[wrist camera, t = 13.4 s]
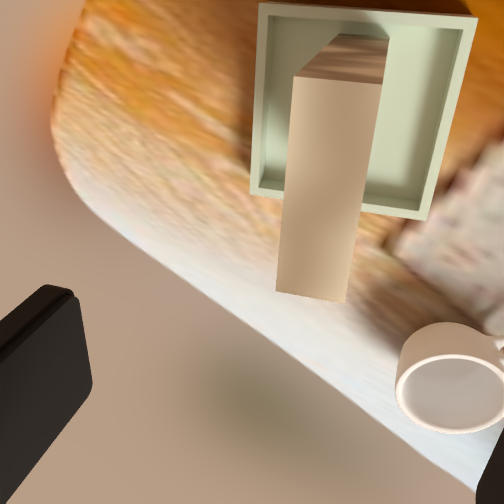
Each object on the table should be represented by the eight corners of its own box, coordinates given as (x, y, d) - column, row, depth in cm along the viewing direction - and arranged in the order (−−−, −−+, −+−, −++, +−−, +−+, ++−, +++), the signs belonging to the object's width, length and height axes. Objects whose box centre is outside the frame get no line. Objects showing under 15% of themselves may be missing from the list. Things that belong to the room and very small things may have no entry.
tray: (472, 14, 28) (478, 17, 26) (424, 206, 34) (426, 221, 32) (268, 1, 30) (258, 2, 28) (257, 182, 36) (249, 194, 34)
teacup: (428, 395, 42) (432, 446, 37) (376, 333, 40) (373, 379, 35) (547, 350, 37) (568, 403, 32) (493, 277, 35) (507, 322, 30)
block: (389, 37, 29) (382, 84, 16) (365, 179, 33) (344, 303, 21) (339, 33, 29) (293, 76, 17) (321, 173, 34) (275, 291, 21)
